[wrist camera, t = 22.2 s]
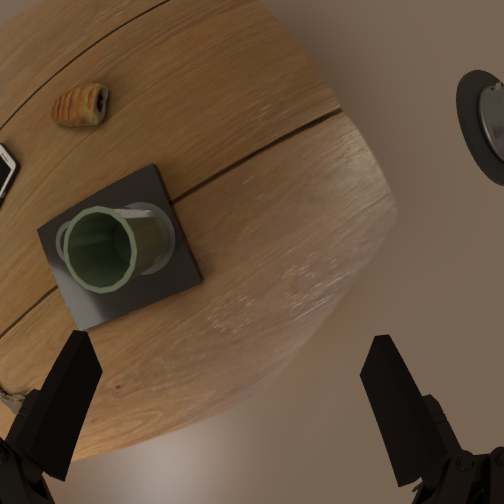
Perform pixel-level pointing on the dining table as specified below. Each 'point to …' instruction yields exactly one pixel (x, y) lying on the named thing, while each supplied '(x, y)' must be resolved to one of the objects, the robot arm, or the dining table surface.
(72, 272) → the cup
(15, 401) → the jawbone
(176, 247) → the hob
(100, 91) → the pastry
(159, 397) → the dining table surface
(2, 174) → the cell phone
